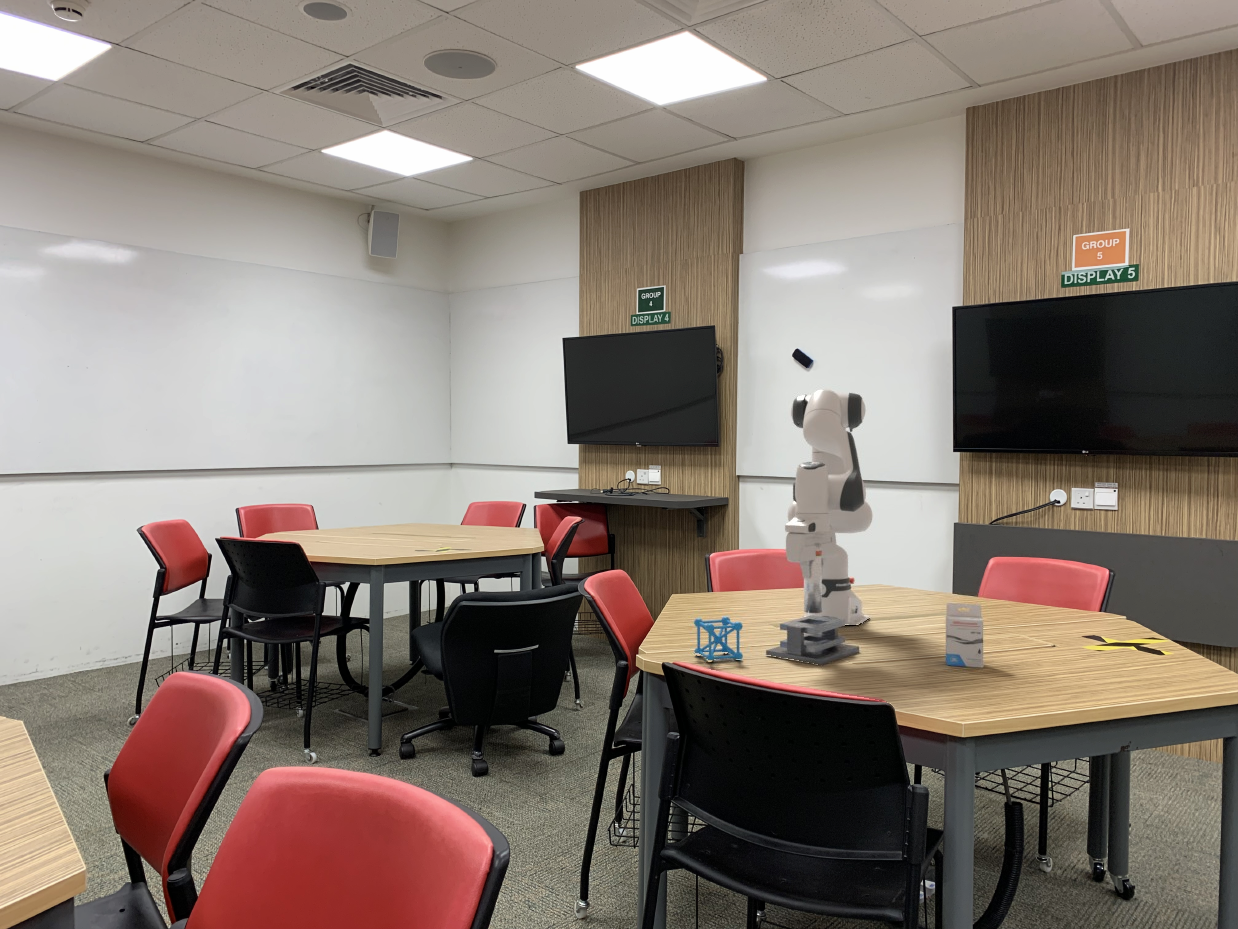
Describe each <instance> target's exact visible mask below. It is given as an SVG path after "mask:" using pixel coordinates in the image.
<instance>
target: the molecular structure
mask: <svg viewBox="0 0 1238 929" xmlns="http://www.w3.org/2000/svg"><path fill="white" fill-rule="evenodd" d="M718 623H719V624H720V623H721V624H722V625H714V624H718ZM693 624H694V626H695V627H696V634H697V635H696V642H697V643H696V645H697V647H696V648H695V649H694V651H693V652H695V653H699V654H701V655H703V656H702V657H704V656H705V657H706V658H705V657H704V658H705V660H706V659H708V660H714V659H716V660H727V658H729V659H734V658H735V659H743V657H744V656H743V653H742V652H741V651H740V648H741V647H740V631H741V630H742V629H743V624H742V622H740V621H735V622H733V621H731V619H730V617H729V616H723V617H721V619H712V620H702V618H700V617H697V618H695V619H694V622H693ZM701 628H702V629H703V630H704V631H706V632H707V633H708V644H706V645H705V646H703V647H701ZM715 630H719V633H718V634H716V632H715ZM734 631H735V632H736V650H734V649H732V648H731V647H730V646H729V645H728V635H729V634H731V633H732V632H734ZM723 632H724V633H723ZM712 638H713V640H712ZM718 645H720V646H721V648H718ZM703 652H709V653H703ZM722 652H728V653H729V654H730V655H729V654H728V655H722V656H721V655H717V656H715V655H714V654H715V653H722ZM695 653H694V654H695ZM735 659H734V660H735ZM714 661H715V660H714Z"/></svg>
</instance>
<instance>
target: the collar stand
mask: <svg viewBox="0 0 1238 929" xmlns="http://www.w3.org/2000/svg"><path fill="white" fill-rule="evenodd" d="M841 627H846V626H845V620H844V619H838V618H837V617H829V616H822V617H821V616H813V615H811V616H807V617H803V616H802V617H801V618H800V617H799V618H797V619H793V620H789V621H786V622H782V623H780V624H779V630H780V631H786V639H782V640H780V641H779V646H776V647H772V648H770V649H766V650H765V656H766V655H771V656H776V657H781V658H788V659H794V660H799V661H803V662H809V663H814V664H818V665H817V666H820V665H822V666H825V665H827V664H826V663H828V664H830V663H829V662H831V663H832V661H833V662H836V661H839V660H841V658H842V659H844V658H847V657H849V656H853V655H855V654H858V653H860V646H858V645H853V644H845V643H846V636H843V635H838V631H839V630H838V629H839V628H841ZM814 664H813V665H814ZM824 664H825V665H824Z"/></svg>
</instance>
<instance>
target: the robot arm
mask: <svg viewBox="0 0 1238 929" xmlns="http://www.w3.org/2000/svg"><path fill="white" fill-rule="evenodd" d="M865 415H866V405H865V402H864V400H863V397H862V396H861V395H860V394H857V393H854V392H849V393H844V392H835V391H833V390H831V389H827V388H826V389H825V388H824V389H823V388H822V389H819V390H816V391H814V392H813V393H812V394H808V395H807V394H802V395H799V396H797V397H796V398H794V400H793V403H792V405H791V408H790V417H791V419H792V421H793V422H792V423H793V425H795V426H796V427H797V428H799V429H802V432H803V433H802V434H803V438H804V440H805V441H806V442H807V444H808V445H809V446H810V447H811V461H807V462H801V463H800V464H798V465H797V467H796V474H795V481H794V482H793V484H792V500H793V501H792V502H791V504H790V505H789V508H788V510H787V520H788V522H787V523H785V525H784V530H785V533H787V534H786V537H785V554H786V557H785V558H787V561H788V562H789V563H797V564H799V567H800V570H801V571H802V578H803V579H804V578H811V571H810V570H809V566H808V565H809V564H810V561H811V560H815V559H816V545H814V544H816V543H821V550H822V555H821V566H822V612H821V613H807V612H805V615H803V616H804V617H807V616H811V615H813V616H821V617H822V616H829V617H837V618H838V619H844V620H845V624H849V625H856V624H859V623H862V622H863V621H865V620H867V619H868V618H869V617H870V618H871V616H870V615H868V614H863V604H862V600H861V599H860V598H859V597H858V596H857V595H856V594H855V592H854V591H853V590H852V585H853V584H855V577H849V557H848V556H849V555H848V552H847V550H846V549H844V548H843V547H842V546H840V545H838V544H837V539H836V538H837V536H836V534H855V533H862V532H865V531H867V530H868V529H869V528H870V526H871V523H872V522H873V511H872V508H871V506H870V504H869V502H867V501H866V496H867V492H866V486H865V483H864V480H863V478H862V473H861V467H860V462H859V457H858V453H857V452H858V451H857V446H856V442H855V438H854V436H853V434H852V432H853V429H854V430H855V429H856V428H858V427H859V426H860V425H861V424H863V420H864V418H865ZM846 428H849V429H848V430H847V429H846ZM867 621H868V620H867ZM862 624H863V623H862Z"/></svg>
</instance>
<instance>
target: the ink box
mask: <svg viewBox="0 0 1238 929" xmlns="http://www.w3.org/2000/svg"><path fill="white" fill-rule="evenodd" d="M963 608H964V609H969V610H959V609H963ZM945 663H946V666H951V667H952V666H953V667H967V668H980V669H982V668H984V619H983V617H982V605H981V604H977V603H976V604H974V603H957V602H956V603H954V602H948V603H946V615H945Z"/></svg>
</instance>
